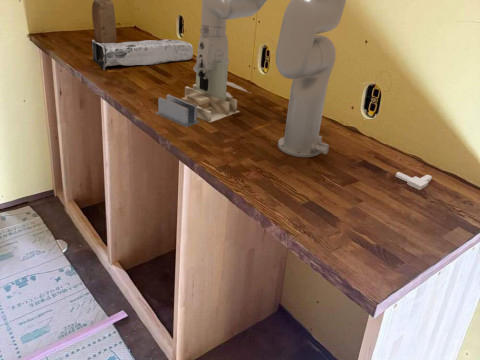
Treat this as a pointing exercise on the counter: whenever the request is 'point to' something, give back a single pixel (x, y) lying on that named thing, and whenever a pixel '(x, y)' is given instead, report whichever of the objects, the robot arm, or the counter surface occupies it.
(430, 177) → the corner connector
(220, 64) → the grey-green panel
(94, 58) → the concrete block
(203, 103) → the offcut stack
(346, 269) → the counter surface
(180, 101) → the stand
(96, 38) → the block
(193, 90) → the rack
